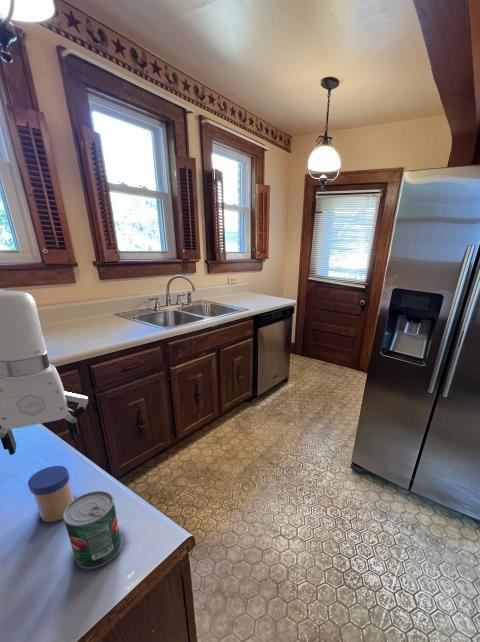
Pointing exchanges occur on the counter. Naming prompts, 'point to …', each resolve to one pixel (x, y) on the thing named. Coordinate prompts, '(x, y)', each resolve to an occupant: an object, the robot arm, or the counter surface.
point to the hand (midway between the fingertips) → (44, 443)
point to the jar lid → (48, 480)
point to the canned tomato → (93, 529)
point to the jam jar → (54, 503)
